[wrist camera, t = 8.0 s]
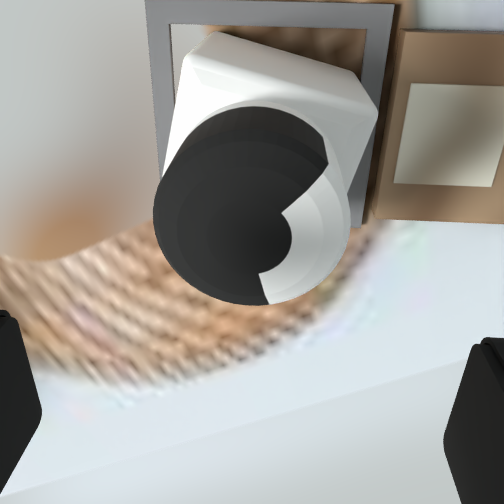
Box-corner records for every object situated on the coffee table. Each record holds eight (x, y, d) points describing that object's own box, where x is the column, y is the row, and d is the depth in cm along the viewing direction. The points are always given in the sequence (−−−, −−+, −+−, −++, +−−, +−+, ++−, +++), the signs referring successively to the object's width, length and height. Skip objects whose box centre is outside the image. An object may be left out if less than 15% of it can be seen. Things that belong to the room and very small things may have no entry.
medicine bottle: (182, 168, 26) (114, 302, 16) (211, 28, 22) (147, 81, 12) (309, 202, 26) (324, 354, 16) (357, 71, 23) (415, 158, 13)
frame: (165, 215, 27) (163, 219, 27) (146, -2, 22) (144, -2, 21) (359, 224, 27) (360, 227, 27) (392, 3, 21) (394, 4, 21)
